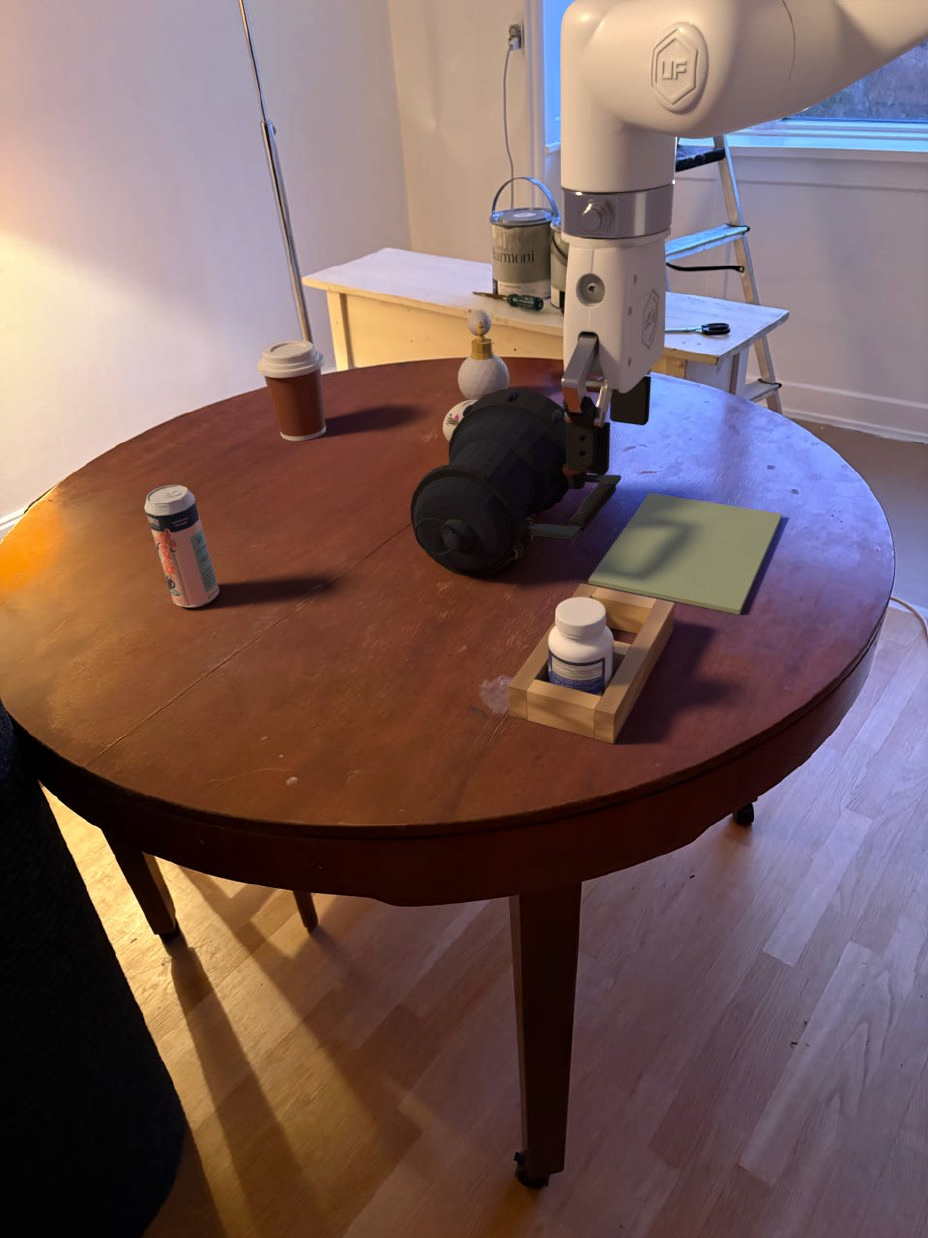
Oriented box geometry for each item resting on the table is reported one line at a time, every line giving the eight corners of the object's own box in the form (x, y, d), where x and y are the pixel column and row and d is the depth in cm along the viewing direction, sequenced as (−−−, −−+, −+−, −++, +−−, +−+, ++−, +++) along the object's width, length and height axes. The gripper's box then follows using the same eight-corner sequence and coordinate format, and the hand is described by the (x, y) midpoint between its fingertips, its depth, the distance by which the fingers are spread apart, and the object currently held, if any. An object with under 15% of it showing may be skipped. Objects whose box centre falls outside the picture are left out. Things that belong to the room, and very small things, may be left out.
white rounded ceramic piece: (464, 466, 113) (460, 417, 110) (434, 453, 117) (430, 405, 114) (510, 447, 117) (508, 398, 114) (480, 435, 121) (477, 387, 118)
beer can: (172, 591, 93) (141, 488, 86) (218, 581, 94) (191, 479, 87) (174, 615, 90) (141, 509, 83) (222, 605, 90) (194, 499, 84)
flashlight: (466, 491, 107) (631, 507, 101) (399, 595, 92) (588, 621, 86) (453, 377, 98) (633, 386, 92) (376, 471, 83) (585, 490, 77)
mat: (781, 518, 97) (782, 513, 97) (739, 615, 83) (740, 609, 83) (648, 497, 104) (648, 492, 103) (588, 583, 89) (588, 578, 89)
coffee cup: (341, 418, 130) (328, 336, 123) (327, 444, 122) (312, 358, 115) (281, 419, 131) (265, 338, 124) (263, 445, 123) (245, 360, 117)
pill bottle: (565, 670, 78) (565, 585, 73) (621, 687, 76) (625, 601, 71) (538, 705, 74) (535, 619, 69) (595, 724, 72) (598, 636, 67)
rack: (672, 631, 82) (675, 602, 80) (613, 744, 70) (614, 713, 68) (580, 611, 85) (580, 583, 84) (509, 715, 74) (508, 685, 72)
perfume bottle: (472, 414, 128) (467, 330, 121) (445, 394, 135) (438, 314, 128) (519, 403, 130) (516, 320, 123) (489, 383, 137) (485, 304, 130)
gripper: (628, 244, 53) (618, 501, 63) (703, 189, 65) (685, 411, 75) (513, 239, 56) (521, 485, 66) (606, 188, 68) (601, 401, 78)
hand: (609, 445), depth 70 cm, fingers open, 9 cm apart
